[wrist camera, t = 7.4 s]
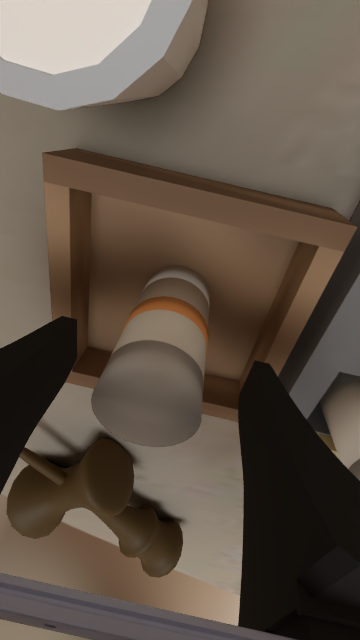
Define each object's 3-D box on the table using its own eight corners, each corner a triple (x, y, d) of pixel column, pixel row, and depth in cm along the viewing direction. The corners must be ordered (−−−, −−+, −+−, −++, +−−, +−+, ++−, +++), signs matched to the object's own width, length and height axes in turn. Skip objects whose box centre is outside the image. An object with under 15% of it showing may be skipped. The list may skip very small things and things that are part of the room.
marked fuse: (202, 330, 17) (189, 457, 11) (140, 315, 17) (88, 433, 11) (219, 273, 15) (216, 386, 9) (149, 257, 15) (91, 357, 8)
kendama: (135, 524, 35) (-2, 431, 27) (205, 508, 32) (73, 395, 23) (123, 591, 30) (-50, 501, 22) (205, 580, 27) (36, 469, 18)
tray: (248, 388, 20) (252, 425, 18) (76, 348, 20) (55, 380, 18) (332, 208, 13) (357, 226, 11) (75, 148, 13) (42, 152, 11)
